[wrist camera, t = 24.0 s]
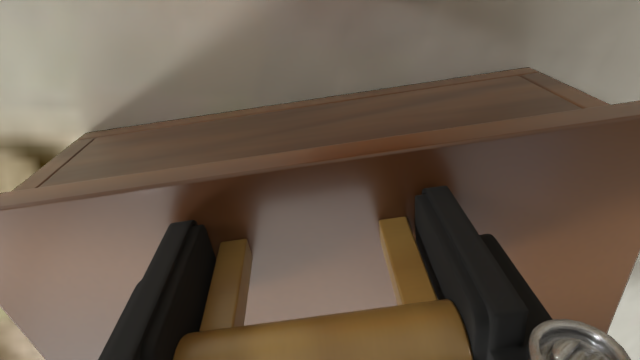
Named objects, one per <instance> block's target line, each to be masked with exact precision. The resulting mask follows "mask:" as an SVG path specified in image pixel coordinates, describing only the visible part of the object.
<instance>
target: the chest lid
mask: <svg viewBox="0 0 640 360" xmlns="http://www.w3.org/2000/svg"><path fill="white" fill-rule="evenodd" d="M438 186H447V187H448V188H449V189H450V191H451V192H452V194H453V195H454V197H455V198H456V200H457V202H458V203H459V205H460V206H461V208H462V209H463V211H464V212H465V214H466V215H467V217H468V218H469V220H470V221H471V223H472V224H473V226H474V227H475V229H476V231H477V232H478V234H479V235H482V234H491V235H493V236H494V237H495V238H496V240H497V241H498V243H499V244H500V245H501V247H502V248H503V250H504V251H505V252H506V254H507V255H508V257H509V258H510V260H511V261H512V262H513V264H514V265H515V267H516V268H517V269H518V271H519V272H520V274H521V275H522V277H523V278H524V279H525V281H526V282H527V284H528V285H529V286H530V288H531V289H532V291H533V292H534V294H535V295H536V296H537V298H538V299H539V301H540V302H541V304H542V305H543V306H544V308H545V309H546V311H547V312H548V313H549V315H550V316H551V318H552V319H569V320H574V321H579V322H583V323H586V324H588V325H591V326H593V327H596V328H598V329H599V330H601V331H603V332H604V333H606V334H607V332H608V330H609V327H610V325H611V322H612V320H613V317H614V315H615V312H616V310H617V307H618V305H619V302H620V300H621V297H622V295H623V292H624V290H625V287H626V285H627V282H628V280H629V277H630V275H631V272H632V270H633V267H634V265H635V262H636V260H637V257H638V255H639V252H640V101H634V102H627V103H620V104H613V105H606V106H599V107H592V108H585V109H578V110H571V111H564V112H558V113H551V114H544V115H537V116H530V117H523V118H516V119H509V120H502V121H495V122H488V123H481V124H475V125H468V126H461V127H454V128H447V129H440V130H433V131H426V132H419V133H412V134H405V135H399V136H392V137H385V138H378V139H371V140H364V141H357V142H350V143H343V144H336V145H329V146H323V147H316V148H309V149H302V150H295V151H288V152H281V153H274V154H267V155H260V156H253V157H246V158H240V159H233V160H226V161H219V162H212V163H205V164H198V165H191V166H184V167H177V168H170V169H164V170H157V171H150V172H143V173H136V174H129V175H122V176H115V177H108V178H101V179H94V180H88V181H81V182H74V183H67V184H60V185H53V186H46V187H39V188H32V189H25V190H18V191H11V192H5V193H0V307H1V308H2V309H3V310H4V311H5V313H6V314H7V315H8V316H9V317H10V318H11V320H12V321H13V322H14V323H15V324H16V325H17V327H18V328H19V329H20V330H21V331H22V333H23V334H24V335H25V336H26V337H27V338H28V340H29V341H30V342H31V343H32V344H33V345H34V347H35V348H36V349H37V350H38V351H39V353H40V354H41V355H42V356H43V357H44V358H45V360H98V359H99V357H100V355H101V353H102V351H103V349H104V347H105V345H106V343H107V341H108V339H109V337H110V335H111V333H112V332H113V330H114V328H115V326H116V324H117V322H118V320H119V318H120V316H121V314H122V312H123V310H124V308H125V306H126V304H127V302H128V300H129V298H130V296H131V294H132V292H133V290H134V289H135V287H136V285H137V284H138V282H140V281H141V280H142V278H143V276H144V274H145V272H146V270H147V268H148V266H149V264H150V262H151V260H152V258H153V256H154V254H155V252H156V250H157V248H158V246H159V244H160V242H161V240H162V238H163V236H164V234H165V232H166V230H167V228H168V226H169V225H170V224H171V223H175V222H182V221H189V220H195V221H196V222H197V223H198V225H202V224H203V225H204V226H205V228H206V230H207V233H208V236H209V239H210V242H211V245H212V248H213V251H214V254H215V257H216V263H215V267H214V271H213V276H212V280H211V284H210V288H209V292H208V297H207V301H206V305H205V309H204V313H203V317H202V322H201V326H200V330H199V332H192V333H188V334H186V335H184V336H183V337H182V338H181V339H180V341H179V343H178V344H177V347H176V349H175V353H174V356H173V360H473V355H472V350H471V346H470V342H469V338H468V335H467V331H466V328H465V326H464V323H463V320H462V318H461V316H460V313H459V311H458V309H457V308H456V306H455V305H454V303H453V302H452V301H451V300H449V299H442V300H438V298H437V296H436V293H435V290H434V288H433V285H432V282H431V280H430V277H429V275H428V272H427V269H426V267H425V264H424V262H423V259H422V256H421V254H420V251H419V248H418V246H417V243H416V236H415V196H416V195H422V190H423V189H424V188H431V187H438Z"/></svg>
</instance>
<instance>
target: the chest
mask: <svg viewBox="0 0 640 360" xmlns="http://www.w3.org/2000/svg"><path fill="white" fill-rule="evenodd" d="M606 105H610V104H608V103H606V102H604V101H602V100H599V99H597V98H595V97H593V96H591V95H588V94H586V93H584V92H582V91H580V90H577V89H575V88H573V87H571V86H569V85H566V84H564V83H562V82H560V81H558V80H556V79H553V78H551V77H549V76H547V75H545V74H542V73H540V72H538V71H536V70H534V69H532V68H529V67H527V68H521V69H514V70H507V71H500V72H494V73H487V74H480V75H473V76H467V77H460V78H453V79H446V80H440V81H433V82H426V83H420V84H413V85H406V86H399V87H393V88H386V89H379V90H372V91H366V92H359V93H352V94H345V95H339V96H332V97H325V98H318V99H312V100H305V101H298V102H291V103H285V104H278V105H271V106H264V107H258V108H251V109H244V110H237V111H231V112H224V113H217V114H210V115H204V116H197V117H190V118H183V119H177V120H170V121H163V122H156V123H150V124H143V125H136V126H129V127H123V128H116V129H109V130H102V131H96V132H89V133H85V134H84V135H83V136H81V137H80V138H79V139H78V140H77V141H75V142H73V143H72V144H71V145H70V146H68V147H67V148H66V149H64V150H63V151H62V152H61V153H59V154H58V155H57V156H56V157H54V158H53V159H52V160H50V161H49V162H48V163H47V164H45V165H44V166H43V167H42V168H40V169H39V170H38V171H37V172H35V173H34V174H33V175H31V176H30V177H29V178H28V179H26V180H25V181H24V182H23V183H21V184H20V185H19V186H17V187H16V188H15V189H14V190H12V191H18V190H25V189H32V188H39V187H46V186H53V185H60V184H67V183H74V182H81V181H88V180H94V179H101V178H108V177H115V176H122V175H129V174H136V173H143V172H150V171H157V170H164V169H170V168H177V167H184V166H191V165H198V164H205V163H212V162H219V161H226V160H233V159H240V158H246V157H253V156H260V155H267V154H274V153H281V152H288V151H295V150H302V149H309V148H316V147H323V146H329V145H336V144H343V143H350V142H357V141H364V140H371V139H378V138H385V137H392V136H399V135H405V134H412V133H419V132H426V131H433V130H440V129H447V128H454V127H461V126H468V125H475V124H481V123H488V122H495V121H502V120H509V119H516V118H523V117H530V116H537V115H544V114H551V113H558V112H564V111H571V110H578V109H585V108H592V107H599V106H606Z"/></svg>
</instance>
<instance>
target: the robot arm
mask: <svg viewBox="0 0 640 360" xmlns="http://www.w3.org/2000/svg"><path fill="white" fill-rule="evenodd" d="M415 236H416V243H417V246H418V248H419V251H420V254H421V256H422V259H423V262H424V264H425V267H426V269H427V272H428V275H429V277H430V280H431V282H432V285H433V288H434V290H435V293H436V296H437V298H438V300H442V299H449V300H451V301H452V302H453V303H454V305H455V306H456V308H457V309H458V311H459V313H460V316H461V318H462V320H463V323H464V326H465V328H466V331H467V335H468V338H469V342H470V346H471V350H472V355H473V360H631V359H630V358H629V356H628V354H627V353H626V351H625V350H624V348H623V347H622V346H621V345H620V344H618V343H617V342H616V341H615V340H614V339H613V338H612V337H611V336H609V335H608V334H606V333H604V332H603V331H601V330H599V329H598V328H596V327H593V326H591V325H588V324H586V323H583V322H579V321H574V320H569V319H552V318H551V316H550V315H549V313H548V312H547V311H546V309H545V308H544V306H543V305H542V304H541V302H540V301H539V299H538V298H537V296H536V295H535V294H534V292H533V291H532V289H531V288H530V286H529V285H528V284H527V282H526V281H525V279H524V278H523V277H522V275H521V274H520V272H519V271H518V269H517V268H516V267H515V265H514V264H513V262H512V261H511V260H510V258H509V257H508V255H507V254H506V252H505V251H504V250H503V248H502V247H501V245H500V244H499V243H498V241H497V240H496V238H495V237H494V236H493V235H491V234H482V235H479V234H478V232H477V231H476V229H475V227H474V226H473V224H472V223H471V221H470V220H469V218H468V217H467V215H466V214H465V212H464V211H463V209H462V208H461V206H460V205H459V203H458V202H457V200H456V198H455V197H454V195H453V194H452V192H451V191H450V189H449V188H448V187H447V186H438V187H431V188H424V189H423V190H422V195H416V196H415ZM215 263H216V257H215V254H214V251H213V248H212V245H211V242H210V239H209V236H208V233H207V230H206V228H205V226H204V225H203V224H202V225H198V223H197V222H196V221H195V220H189V221H182V222H175V223H171V224H170V225H169V226H168V228H167V230H166V232H165V234H164V236H163V238H162V240H161V242H160V244H159V246H158V248H157V250H156V252H155V254H154V256H153V258H152V260H151V262H150V264H149V266H148V268H147V270H146V272H145V274H144V276H143V278H142V280H141V281H140V282H138V284H137V285H136V287H135V289H134V290H133V292H132V294H131V296H130V298H129V300H128V302H127V304H126V306H125V308H124V310H123V312H122V314H121V316H120V318H119V320H118V322H117V324H116V326H115V328H114V330H113V332H112V333H111V335H110V337H109V339H108V341H107V343H106V345H105V347H104V349H103V351H102V353H101V355H100V357H99V359H98V360H173V356H174V353H175V349H176V347H177V344H178V343H179V341H180V339H181V338H182V337H183V336H184V335H186V334H188V333H192V332H199V330H200V326H201V322H202V317H203V313H204V309H205V305H206V301H207V297H208V292H209V288H210V284H211V280H212V276H213V271H214V267H215Z"/></svg>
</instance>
